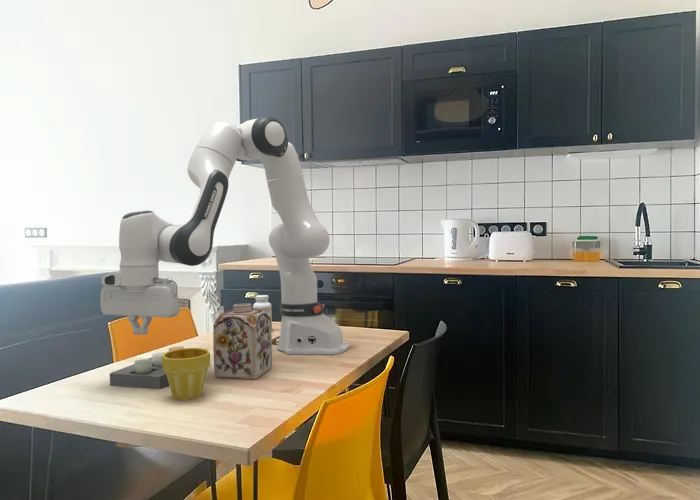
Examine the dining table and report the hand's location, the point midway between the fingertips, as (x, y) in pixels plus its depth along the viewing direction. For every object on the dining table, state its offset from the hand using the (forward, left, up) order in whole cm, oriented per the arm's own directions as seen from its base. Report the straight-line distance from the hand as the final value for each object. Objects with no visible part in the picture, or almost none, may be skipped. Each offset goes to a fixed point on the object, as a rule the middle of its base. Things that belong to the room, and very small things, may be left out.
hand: (140, 334), depth 132 cm
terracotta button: (0, -14, -10) cm, 17 cm away
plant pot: (-16, +6, -12) cm, 21 cm away
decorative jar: (-20, -14, -12) cm, 28 cm away
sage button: (0, 0, -10) cm, 10 cm away
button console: (0, -7, -12) cm, 14 cm away
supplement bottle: (-1, -66, -12) cm, 67 cm away
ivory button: (0, -7, -10) cm, 12 cm away
